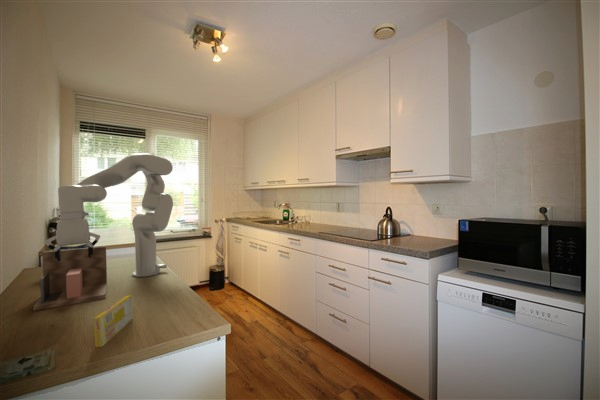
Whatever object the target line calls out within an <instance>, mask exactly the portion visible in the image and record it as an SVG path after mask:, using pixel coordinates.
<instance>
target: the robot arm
mask: <svg viewBox="0 0 600 400" xmlns="http://www.w3.org/2000/svg"><path fill="white" fill-rule="evenodd" d="M139 172H142V173H143V175H144V177H145V179H146V182H147V183H146V188H145V191H144V195H143V197H142V199H141V200H142V201H141V206H142V207H141V208H142V209H143V210H145V211H148V212H139V213H138V214H136V215H135V216H133V219H132V221H131V223H132V228H133V233H134V248H135V249H134V252H135V254H134V255H135V270H134V271H132V273H131V274H132V275H131V276H132V277H133V278H134V277H135V278H144V277H150V276H156V275H158V274H160V272H161V269H166V268H168V267H167V266H168V265H167V264H162V263H161V264H158V262H157V237H156V234H155V232H156V233H158V232H159V233H161V232H163V231H165V230H166V228H167V227H168V225H169V221H170V218H171V215H172V212H173V211H172V210H173V207H174V201H173V198H172V197H173V196H172V195H170V194H169V193H166V192H165V193H164V191H165V185H166V183H165V181H164V180H163V177H162V176H168V175H170V174H171V173H172V172H173V163H172V161H170V160H169V159H167V158H164V157H161V156H157V155H154V154H151V153H144V152H143V153H133V154H132V153H131V154H128V155H127V156H125V157H124V158H122V159H121V160H119V161H117V162H116V163H115V164H113V165H111V166H110V167H108V168H106V169H104V170H101V171H99V172H97V173H95V174H91V176H88V177H86V178H83V180H82V181H80V182H78V183H77V184H71V185H69V184H67V185H60V186H59V187H58V188H57V192H58V194H57V196H58V208H59V209H58V210H59V220H58V221H57V225H56V235H53V236H52V237H49V238H48V239H46V240H44V244H45V245H46V247H48V248H50V249H52V250H53V251H55V259H57V261H60V260H61V250H60V249H59V248H60V247H61V246H67V245H76V244H84V243H85V244H87V245H88V246H89V247H88V256H89V257H91V255H93V246H94V247H95V245H97V243H98V242H99V240H100V238H101V235H100V234H97V233H94V232H90V226H89V221H88V218H86V217H89V216H90V215H89V212H86V211H85V205H84V203H99V202H100V203H101V202H102V201H103V200H105V199H106V198H107V195H108V192H107V190H106V188H110V187H114V186H119V185H120V184H123V183H125V182H126V181H127V180H129V179H130V178H132V177H133V176H134V175H136V174H137V173H139ZM91 237H92V238H95V239H94V240H93V241H92V242H91ZM55 240H56V245H57V246H54V244H52V242H53V241H55Z"/></svg>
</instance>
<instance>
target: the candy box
mask: <svg viewBox="0 0 600 400" xmlns="http://www.w3.org/2000/svg"><path fill="white" fill-rule="evenodd" d="M132 304H133V303H132V295H130V294H129V295H125V296H124V297H122V298H120V299H119V300H117V302H115V303H114V304H112V305H111V306H109V307H107V308H106V309H105V310H104V311H102V312H100V313H99V314H98V315H96V316H95V317H93V327H94V328H93V329H94V343H95V348H101V347H103V346H104V345H106V344H107V343H108V342H109V341H110V340H111V339H113V338H114V337H115V336H116V335H117V334H118V333H120V331H121V330H123V328H125V327H127V325H129V323H131V322H132V321H133V320H134V319H133V318H134V317H133V305H132Z"/></svg>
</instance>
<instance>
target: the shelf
mask: <svg viewBox="0 0 600 400" xmlns="http://www.w3.org/2000/svg"><path fill="white" fill-rule="evenodd" d="M77 268H82V287H83V289H82V292H81V295H80V297H74V298H68V299H67V289H66V275H67V273H68V271H69V270H70V269H77ZM107 268H108V267H107V245H103V246H94V247H93V255H91V257H89V256H88V248H79V249H68V250H61V260H60V261H57V259H55V251H49V250H48V251H42V276H43V275H44V274H45V273H46V272H49V276H50V293H54V292H61V291H62V293H61V294H60V296H59V298H58V300H57V301H52V302H46V303H41V296H40V297H39V298H38V300H37V301H36V302H35V304H34V305H33V307H32V308H33V309H32V310H33V311H40V310H41V311H42V310H46V309H51V308H57V307H62V306H68V305H74V304H80V303H85V302H86V303H87V302H91V301H96V300H101V299H106V297H107V288H108V278H107V277H108V275H107V274H108V273H107Z"/></svg>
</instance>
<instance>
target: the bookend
mask: <svg viewBox="0 0 600 400" xmlns="http://www.w3.org/2000/svg"><path fill="white" fill-rule="evenodd" d="M39 279H40V280H39V281H40V283H39V284H40V297H41V303H46V302H52V301H57V300H58V298H59V296H60V294H61V293H62V291H61V292H54V293H50V276H49V272H46V273H45V274H44V275H43V274H42V276H41V278H39Z"/></svg>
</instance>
